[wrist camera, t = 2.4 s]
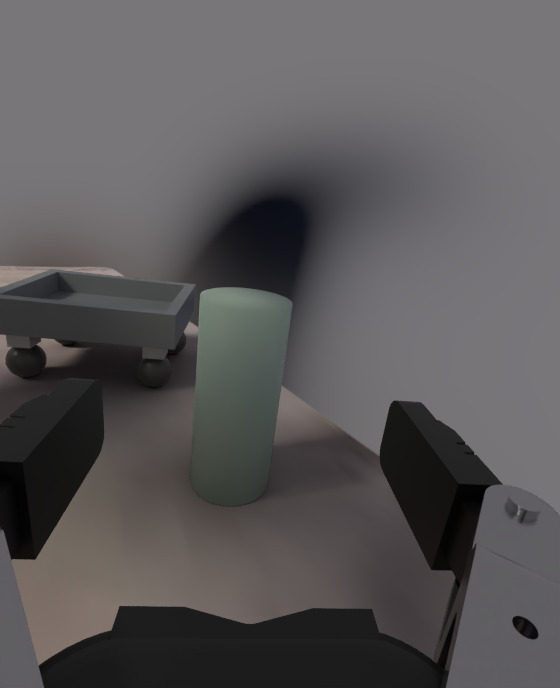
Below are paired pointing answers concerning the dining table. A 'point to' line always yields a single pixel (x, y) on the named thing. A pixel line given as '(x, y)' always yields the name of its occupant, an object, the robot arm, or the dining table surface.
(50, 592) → the dining table surface
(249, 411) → the pale green cylinder
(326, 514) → the dining table surface
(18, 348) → the tray
